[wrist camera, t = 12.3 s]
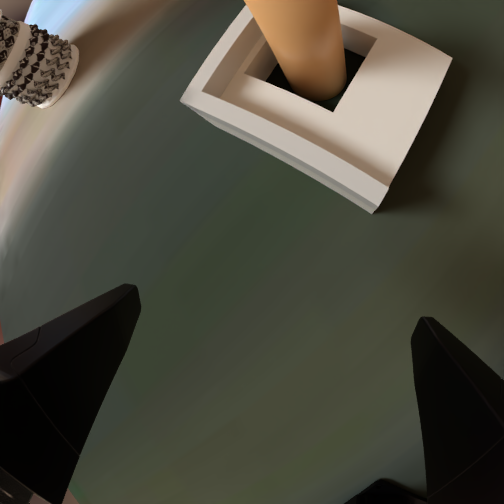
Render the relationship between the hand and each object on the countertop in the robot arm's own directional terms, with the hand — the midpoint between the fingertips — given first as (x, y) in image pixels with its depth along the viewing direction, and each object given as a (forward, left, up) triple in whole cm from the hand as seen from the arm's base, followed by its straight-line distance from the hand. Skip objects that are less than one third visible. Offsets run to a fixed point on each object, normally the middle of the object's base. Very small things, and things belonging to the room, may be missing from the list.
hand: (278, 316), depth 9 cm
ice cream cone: (+7, -11, -11) cm, 17 cm away
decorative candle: (+35, -3, -11) cm, 37 cm away
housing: (+5, -10, -11) cm, 16 cm away
